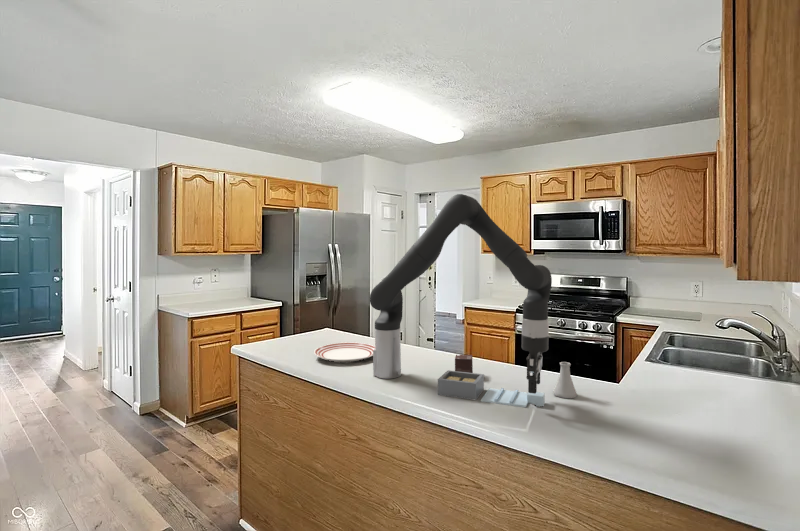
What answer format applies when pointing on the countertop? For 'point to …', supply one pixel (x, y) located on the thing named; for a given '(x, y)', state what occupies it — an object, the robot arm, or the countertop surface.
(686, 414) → the countertop surface
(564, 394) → the flask
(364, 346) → the dinner plate
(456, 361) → the box
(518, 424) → the countertop surface
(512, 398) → the lid
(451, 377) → the brass block
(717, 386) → the countertop surface
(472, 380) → the brass block
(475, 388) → the tub
